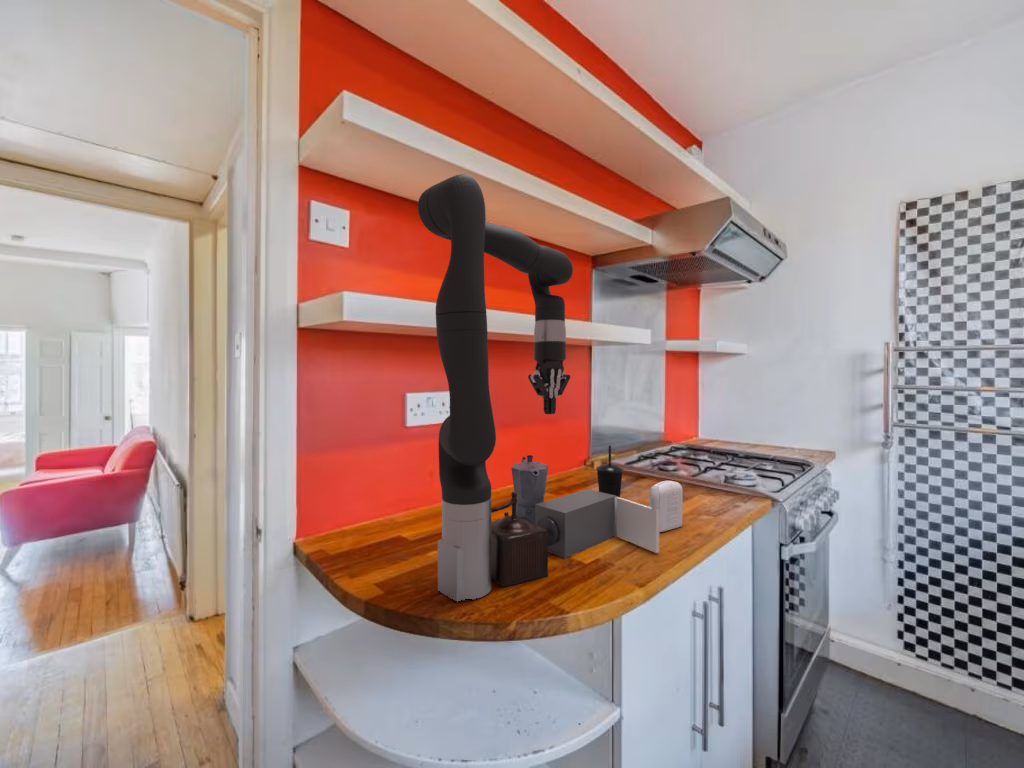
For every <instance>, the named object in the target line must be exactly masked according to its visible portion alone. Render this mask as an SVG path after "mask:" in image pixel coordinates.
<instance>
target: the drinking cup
mask: <svg viewBox="0 0 1024 768" xmlns="http://www.w3.org/2000/svg"><path fill="white" fill-rule="evenodd" d="M595 470H596V474H597V484H598V485H597V486H598V492H602V493H607V494H611V495H615V496H616V497H620V498H621V491H622V481H623V480H622V479H623V478H622V477H623V472H624V468H623V467H621V466H619V465H618V464H616V463H615V464H614V463H612V445H608V462H607V463H602V464H600V465H598V466H596V467H595Z"/></svg>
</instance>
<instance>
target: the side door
mask: <svg viewBox="0 0 1024 768" xmlns="http://www.w3.org/2000/svg"><path fill="white" fill-rule="evenodd" d="M651 487H652V506H651V507H649V505H645V504H642V503H639V502H635V501H633V500H629V499H626V498H623V497H621V496H620V497H615V536H614V537H618V538H619V539H622V540H624V541H627V542H629V543H631V544H634V545H636V546H639V547H641V548H643V549H646V550H648V551H651V552H653V553H656V554H657V553H660V532H659V487H658V486H654V485H652V486H651Z"/></svg>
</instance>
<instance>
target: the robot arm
mask: <svg viewBox="0 0 1024 768" xmlns="http://www.w3.org/2000/svg"><path fill="white" fill-rule="evenodd" d="M417 212H418V216H419V219H420V221H421V223H422V224H423V226H424V227H425V229H427V230H428V231H429V232H431V234H433V235H435V236H437V237H440V238H442V239H445V240H448V241H450V257H449V261H448V265H447V268H446V272H445V275H444V278H443V280H442V283H441V286H440V288H439V290H438V294H437V298H436V302H435V325H436V326H435V327H436V339H437V346H438V350H439V354H440V359H441V363H442V366H443V369H444V370H443V371H444V373H445V376H446V379H447V384H448V390H449V391H448V394H449V415H448V416H447V417H446V418H445V419H444V420H443V422H442V423H441V425H440V429H439V432H438V473H439V476H438V477H439V483H440V487H441V489H440V490H441V538H440V539H438V540H437V591H438V592H439V591H440V592H439V593H441V594H443V595H444V596H446V597H447V596H448V597H447V598H449V599H451V600H452V599H453V600H452V601H454V600H455V601H457V602H456V603H459V602H458V601H460V602H462V601H466V600H465V599H472V600H477V599H481V598H482V597H485V596H486V595H488V594H489V593H491V590H492V578H491V522H492V513H491V508H492V483H491V481H490V479H489V475H488V471H487V466H486V463H487V460H488V459H489V458H490V457H491V456H492V453H494V450H495V447H496V442H497V433H496V427H495V420H494V413H493V407H492V402H491V394H490V384H489V383H490V382H489V350H488V349H489V347H488V346H489V345H488V317H487V304H486V292H485V290H486V289H485V254H487V255H489V256H491V257H492V258H496V259H497V260H500V261H502V262H503V263H505V264H507V265H509V266H510V267H511V268H513V269H516V270H517V271H519V272H521V273H522V274H523V273H524V274H527V277H528V278H527V279H528V282H529V286H530V290H531V294H532V298H533V301H534V308H535V309H534V316H535V317H534V321H535V322H534V328H533V329H534V330H533V359H534V361H536V365H535V368H534V369H535V371H534V372H533V373H532V374H528V375H527V377H528V381H529V383H530V384H531V386H532V388H533V390H534V391H535V393H536V395H537V396H540V397H542V398H543V399H542V400H543V413H544V414H545V415H555V414H556V411H557V398H558V397H559V396H562V395H563V393H564V391H565V390H566V388H567V385H568V384H569V381H570V379H571V375H570V374H567V373H566V372H565V371H564V370H565V367H564V361H566V359H567V358H566V357H567V329H566V304H565V302H566V301H565V299H564V297H562V296H560V295H556V294H552V293H551V290H550V287H553V286H560V285H564V284H566V283H568V282H569V281H570V279H572V276H573V273H574V267H573V263H572V261H571V259H570V258H569V257H568V256H567V254H565V253H564V252H562V251H560V250H558V249H554V248H551V247H550V246H547V245H541V244H539V243H537V242H536V241H534V240H533V238H532V239H531V238H530V237H528V236H527V234H524V233H522V232H521V231H519V230H516V229H513V228H510V227H507V226H503V225H499V224H495V223H491V222H489V221H488V222H487V221H486V219H487V218H486V202H485V197H484V193H483V191H482V188H481V186H480V185H479V183H478V182H477V180H476V179H475V178H474V177H473V176H471V175H469V174H466V173H460V174H456V175H453V176H451V177H449V178H446V179H444V180H442V181H440V182H438V183H435V184H433V185H431V186H430V187H428V188H426V189H425V190H424V191H423V192H422V193H421V194H420V196H419V198H418V201H417ZM476 598H477V599H476ZM461 600H462V601H461ZM455 601H454V602H455Z"/></svg>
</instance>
